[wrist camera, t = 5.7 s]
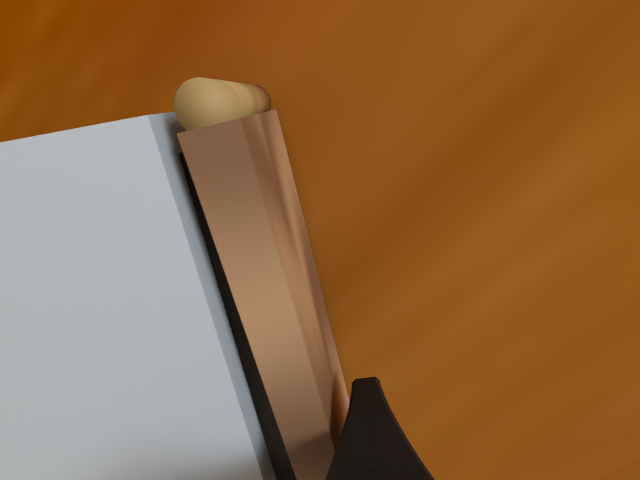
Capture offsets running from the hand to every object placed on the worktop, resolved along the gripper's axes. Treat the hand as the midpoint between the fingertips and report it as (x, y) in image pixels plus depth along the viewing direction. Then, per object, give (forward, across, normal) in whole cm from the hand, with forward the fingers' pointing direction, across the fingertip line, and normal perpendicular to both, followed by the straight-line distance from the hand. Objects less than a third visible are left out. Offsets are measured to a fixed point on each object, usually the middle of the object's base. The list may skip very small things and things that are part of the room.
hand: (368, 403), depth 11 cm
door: (+3, +1, -2) cm, 3 cm away
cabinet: (+3, +8, -2) cm, 9 cm away
